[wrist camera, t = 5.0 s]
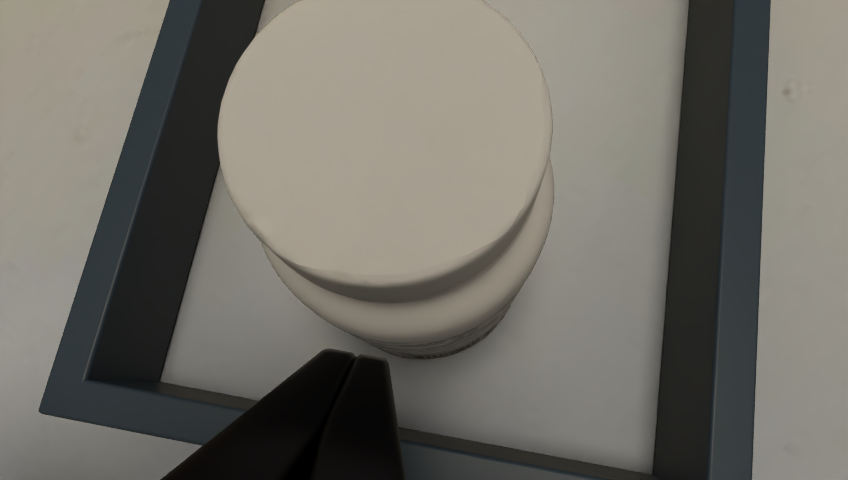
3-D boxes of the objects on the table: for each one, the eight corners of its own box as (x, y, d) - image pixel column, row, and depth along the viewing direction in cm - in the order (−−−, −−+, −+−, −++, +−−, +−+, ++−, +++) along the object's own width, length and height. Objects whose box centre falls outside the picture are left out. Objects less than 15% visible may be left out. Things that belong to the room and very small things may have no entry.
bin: (686, 518, 13) (750, 555, 10) (119, 408, 14) (35, 413, 12) (726, -117, 17) (780, -219, 14) (283, -160, 19) (252, -261, 16)
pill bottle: (370, 154, 16) (281, -99, 8) (541, 210, 15) (642, -1, 7) (301, 321, 15) (111, 235, 7) (481, 389, 14) (518, 386, 6)
